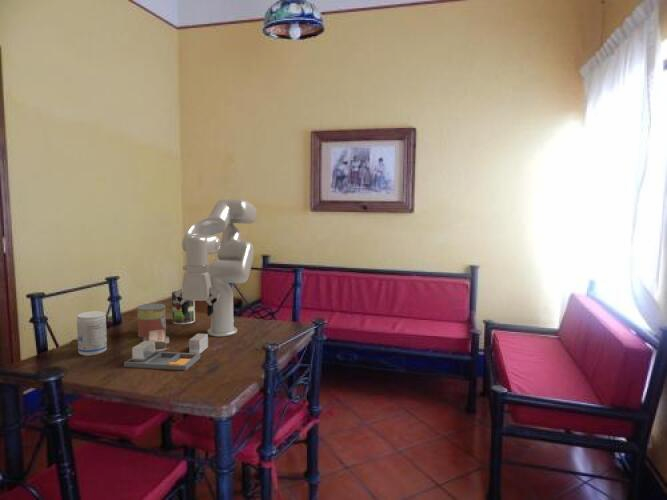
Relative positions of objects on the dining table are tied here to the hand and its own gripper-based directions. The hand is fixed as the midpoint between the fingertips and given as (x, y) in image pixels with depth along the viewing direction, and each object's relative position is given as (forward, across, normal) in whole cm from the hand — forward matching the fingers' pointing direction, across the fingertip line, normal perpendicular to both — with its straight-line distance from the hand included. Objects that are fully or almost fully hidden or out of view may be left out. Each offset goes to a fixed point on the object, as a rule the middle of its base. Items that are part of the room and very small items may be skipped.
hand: (197, 314), depth 168 cm
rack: (+15, -7, -13) cm, 21 cm away
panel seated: (+14, -14, -13) cm, 24 cm away
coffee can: (+14, -24, +40) cm, 49 cm away
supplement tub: (+15, -39, -5) cm, 42 cm away
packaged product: (+15, -20, +5) cm, 25 cm away
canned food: (+14, -29, +20) cm, 38 cm away
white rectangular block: (+15, 0, +1) cm, 15 cm away
